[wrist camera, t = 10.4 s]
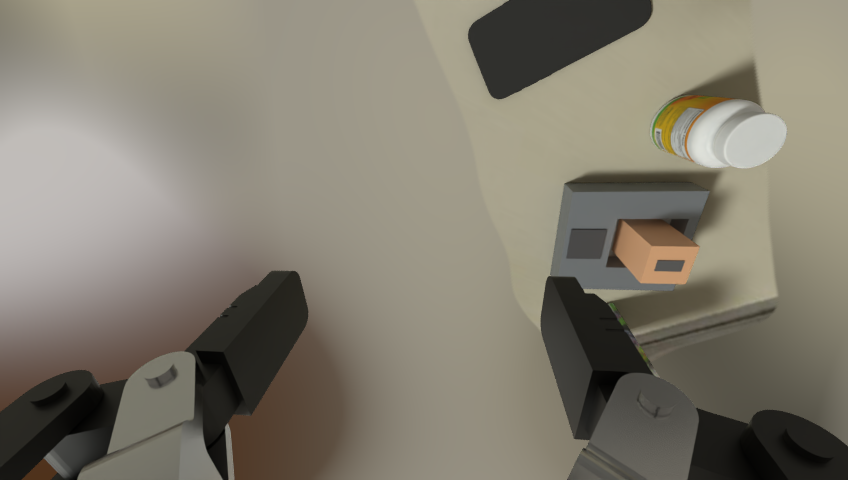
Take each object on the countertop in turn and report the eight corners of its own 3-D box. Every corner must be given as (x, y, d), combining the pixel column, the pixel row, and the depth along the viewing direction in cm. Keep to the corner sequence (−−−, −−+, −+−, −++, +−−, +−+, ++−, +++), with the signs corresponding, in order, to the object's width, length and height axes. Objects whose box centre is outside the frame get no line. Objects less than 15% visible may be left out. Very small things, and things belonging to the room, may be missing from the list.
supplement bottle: (721, 105, 32) (819, 117, 23) (684, 158, 34) (760, 187, 25) (670, 86, 31) (751, 91, 23) (636, 141, 34) (697, 164, 25)
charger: (619, 217, 37) (652, 246, 31) (659, 217, 37) (700, 247, 30) (611, 249, 39) (640, 283, 33) (649, 250, 39) (686, 284, 32)
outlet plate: (564, 183, 36) (573, 192, 34) (690, 182, 35) (711, 191, 32) (550, 274, 42) (556, 289, 39) (659, 276, 40) (674, 291, 38)
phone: (654, 21, 29) (494, 104, 33) (649, 22, 30) (493, 103, 34) (636, -77, 26) (463, 27, 30) (631, -73, 27) (463, 28, 31)
